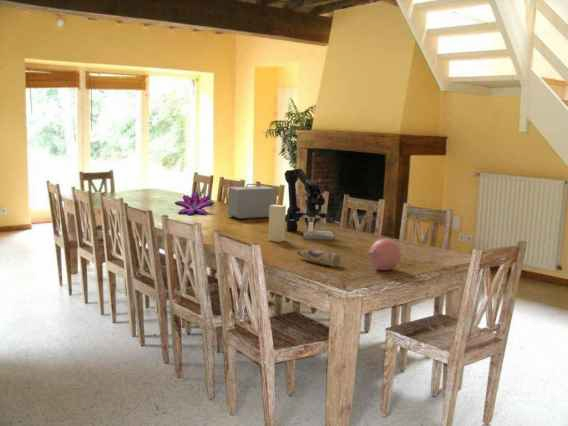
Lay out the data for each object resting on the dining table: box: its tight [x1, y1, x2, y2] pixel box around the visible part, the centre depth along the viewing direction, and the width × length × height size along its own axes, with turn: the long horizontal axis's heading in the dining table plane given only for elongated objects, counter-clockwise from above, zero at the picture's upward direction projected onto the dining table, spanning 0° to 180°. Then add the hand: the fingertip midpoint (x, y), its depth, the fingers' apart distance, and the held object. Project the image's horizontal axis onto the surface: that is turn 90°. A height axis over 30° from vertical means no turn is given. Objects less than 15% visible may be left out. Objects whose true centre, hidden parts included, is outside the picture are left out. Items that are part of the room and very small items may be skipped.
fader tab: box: [306, 222, 315, 232], centre depth 366 cm, size 4×5×6 cm
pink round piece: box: [366, 238, 402, 271], centre depth 285 cm, size 15×20×15 cm
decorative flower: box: [174, 191, 215, 216], centre depth 447 cm, size 31×31×10 cm
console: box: [302, 230, 335, 240], centre depth 367 cm, size 18×16×3 cm
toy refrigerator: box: [267, 204, 287, 243], centre depth 350 cm, size 8×7×21 cm
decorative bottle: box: [296, 248, 341, 268], centre depth 298 cm, size 26×8×7 cm, turn 46°
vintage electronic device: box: [227, 183, 278, 221], centre depth 433 cm, size 32×18×25 cm, turn 121°
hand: (310, 228), depth 366 cm, fingers closed on fader tab, 3 cm apart
